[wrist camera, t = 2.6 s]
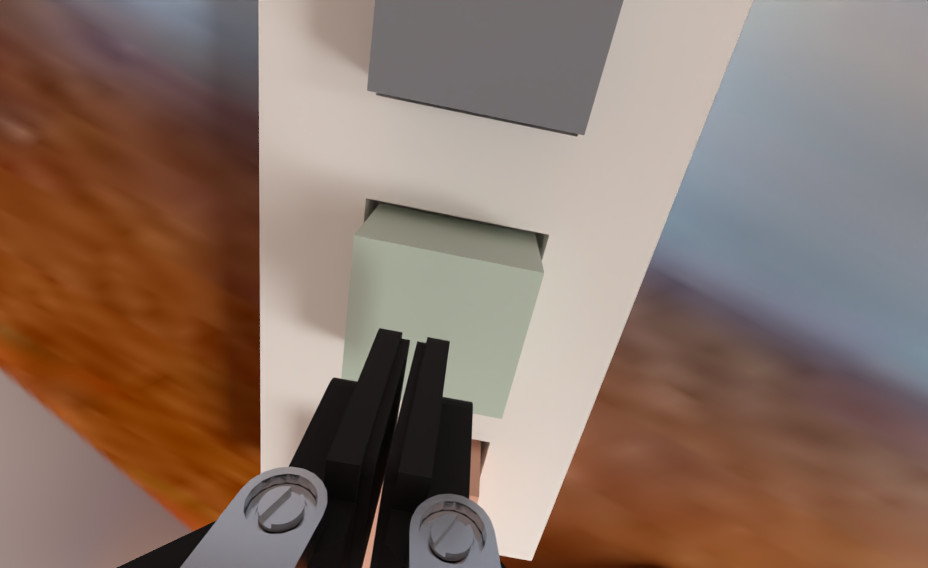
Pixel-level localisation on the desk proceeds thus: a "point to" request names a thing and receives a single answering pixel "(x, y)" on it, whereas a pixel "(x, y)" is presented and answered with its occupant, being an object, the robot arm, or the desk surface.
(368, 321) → the sage button
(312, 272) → the panel
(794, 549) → the desk surface
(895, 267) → the desk surface
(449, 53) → the charcoal button
